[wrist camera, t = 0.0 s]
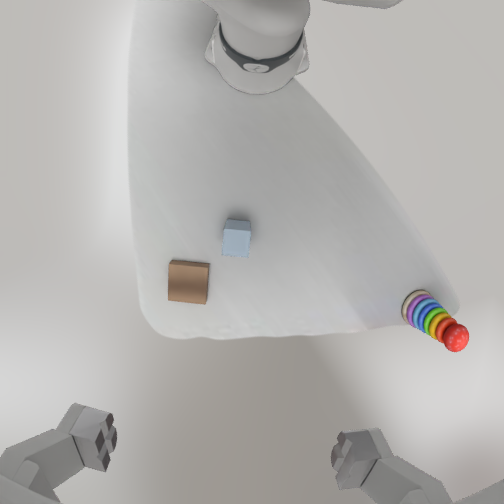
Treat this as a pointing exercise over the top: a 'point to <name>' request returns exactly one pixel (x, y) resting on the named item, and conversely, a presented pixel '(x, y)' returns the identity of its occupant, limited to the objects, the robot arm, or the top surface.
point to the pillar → (236, 238)
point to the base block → (188, 282)
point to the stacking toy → (434, 321)
